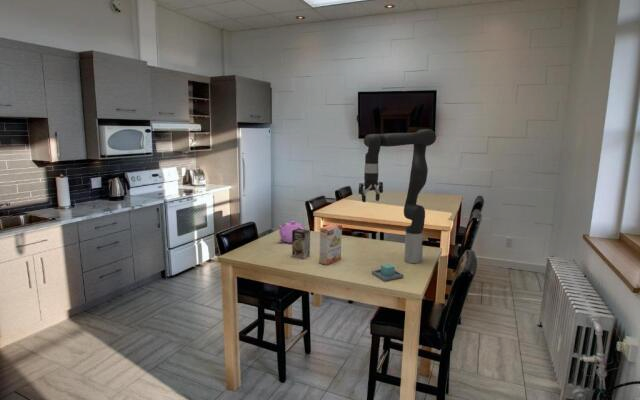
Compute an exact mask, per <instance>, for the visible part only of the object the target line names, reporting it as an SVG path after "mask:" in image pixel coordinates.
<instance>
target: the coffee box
mask: <svg viewBox="0 0 640 400" xmlns="http://www.w3.org/2000/svg"><path fill="white" fill-rule="evenodd" d="M291 246H292V247H291V249H292V250H291V251H292V254H291V255H292V257H293V258H294V257H295V258H297V259H298V258H299V259H301V260H302V259H303V260H305V259H307V258H310V257H311V230H310V229H309V230H308V229H305V228H304V229H295V230H292V243H291Z"/></svg>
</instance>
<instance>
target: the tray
mask: <svg viewBox="0 0 640 400" xmlns="http://www.w3.org/2000/svg"><path fill="white" fill-rule="evenodd" d="M371 275H373V276H374V277H376V278H377V279H379V280H381V281H382V282H385V283H386V282H389V281H396V280H400V279H404V274H403V273H401V272H399V271H397V270H396V269H395V272H394V276H391V277H385V276H383V275H381V268H379V269H375V270H372V271H371Z"/></svg>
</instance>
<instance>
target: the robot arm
mask: <svg viewBox="0 0 640 400" xmlns="http://www.w3.org/2000/svg"><path fill="white" fill-rule="evenodd" d="M436 141H437V135H436V132H435V131H434V130H432V129H430V128H423V129H418V130H417V131H416V132H391V133H389V132H388V133H380V134H379V133H374V134H373V133H371V134H367V135H366V136H364V139H363V143H364V146H366V148H367V152H366V153H365V157H364V158H365V159H364V172H363V173H364V176H363V177H364V178H363V180H364V183H361V182H359V183H358V195H361V202H362V203H366V200H367V198H366V197H367V193H368V192H370V191H373V192H375V201H376V202H379V200H380V197H381V194H383V192H384V183H383V181H379V170H380V169H379V168H380V167H379V154H380V150H381V147H400V146H408V145H413V151H412V152H413V154H412V160H411V161H412V162H411V169H410V175H409V183H408V189H407V194H406V199H405V203H404V207H403V215H404V217H405V219H407V220H410V221H411V224H410V225H407V226H406V227H405V235H404V236H405V239H404V242H405V243H404V260H403V261H404V262H406V263H408V264H409V263H410V264H419V263H421V262H423V253H424V252H423V251H424V249H423V248H424V245H423V229H424V228H425V219H426V209H425V208H424V206H423V205H420V204H417V202H418V201H417V200H418V197H419V195H420V193H421V191H422V189H423V188H424V187H425V185H426V183H427V179H428V172H429V169H428V164H427V158H426V151H427V147H428V146H431V145H433V144H434V143H435V142H436Z"/></svg>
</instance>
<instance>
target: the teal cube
mask: <svg viewBox="0 0 640 400" xmlns="http://www.w3.org/2000/svg"><path fill="white" fill-rule="evenodd" d="M395 268H396V267H395V266H394V265H392V264H391V263H385V264H381V265H380V269H381V275H383V276H385V277H391V276H394V272H395V270H396V269H395Z"/></svg>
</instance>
